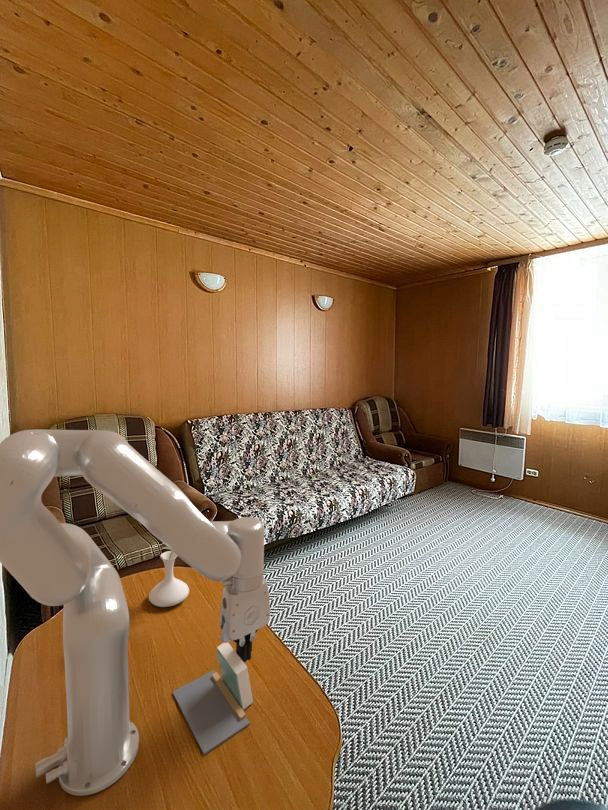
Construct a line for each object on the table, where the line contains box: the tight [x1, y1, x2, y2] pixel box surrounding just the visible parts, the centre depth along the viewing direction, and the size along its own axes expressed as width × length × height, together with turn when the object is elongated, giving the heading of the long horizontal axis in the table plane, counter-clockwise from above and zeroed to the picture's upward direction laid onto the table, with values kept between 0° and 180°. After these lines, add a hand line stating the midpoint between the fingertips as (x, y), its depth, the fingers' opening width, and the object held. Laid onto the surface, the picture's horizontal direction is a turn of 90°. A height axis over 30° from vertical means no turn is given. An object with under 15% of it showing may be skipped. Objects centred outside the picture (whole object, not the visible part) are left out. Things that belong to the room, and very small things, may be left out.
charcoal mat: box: [172, 669, 251, 756], centre depth 76 cm, size 10×16×1 cm, turn 39°
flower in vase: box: [148, 546, 190, 608], centre depth 110 cm, size 13×11×25 cm
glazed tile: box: [216, 642, 254, 711], centre depth 79 cm, size 3×9×9 cm, turn 39°
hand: (243, 656), depth 80 cm, fingers closed
